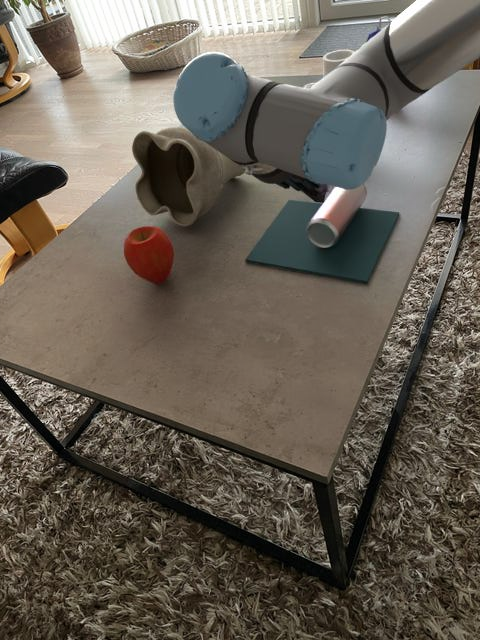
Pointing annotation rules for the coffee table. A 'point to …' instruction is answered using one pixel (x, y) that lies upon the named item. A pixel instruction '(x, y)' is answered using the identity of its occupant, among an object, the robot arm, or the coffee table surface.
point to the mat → (337, 261)
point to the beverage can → (335, 216)
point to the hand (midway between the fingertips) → (321, 194)
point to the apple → (149, 254)
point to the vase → (179, 174)
